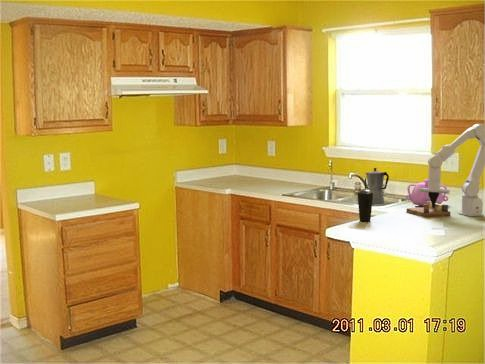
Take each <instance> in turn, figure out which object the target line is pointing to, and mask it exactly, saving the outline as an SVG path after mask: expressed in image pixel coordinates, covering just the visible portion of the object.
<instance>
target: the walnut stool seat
mask: <svg viewBox="0 0 485 364" xmlns="http://www.w3.org/2000/svg"><path fill="white" fill-rule="evenodd" d="M406 213H407V214H412V215H414V216H419V217H421V216H422V218H438V217H451V211H450V210H448V211H441V210H437V209H433V208H429V204H424V206H419V207H407V208H406Z"/></svg>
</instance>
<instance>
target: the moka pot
mask: <svg viewBox="0 0 485 364" xmlns="http://www.w3.org/2000/svg"><path fill="white" fill-rule="evenodd" d="M365 175H366V183H367V186H368V190H371V191H372V192H374V194H373V200H372V206H375V205H376V206H377V205H384V204H385V197H384V191H383V190H386V189H387V187H388V186H387V185H388V182H389V179H390V176H389V174H388V172H387V171H380V170H377V167H373V171H368V172H366V173H365ZM384 177H386V179H385V178H384ZM384 180H385V183H384Z"/></svg>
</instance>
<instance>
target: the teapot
mask: <svg viewBox="0 0 485 364" xmlns="http://www.w3.org/2000/svg"><path fill="white" fill-rule="evenodd" d="M410 187H413V189H412V192H411V189H410ZM441 187H442V188H443V189H448V188H447V186H446V185H444V184H442V183H440V188H441ZM419 188H428V179H423V182H417V183H410V184H409V185H408V186H407V188H406V189H407V194H406V196H405V199H406V200H407V201H411V202H412V204H413V205H416V206H419V207H424V204H427V201H431V200H430V197H429V195H428V194H429V193H426V192H419ZM429 192H438V191H429ZM445 198H446V199H445ZM448 201H449V197H448V196H447V194H444V193H440V194H439V196H438V198H437V201H436V203H438V204H442V203H443V202H448Z"/></svg>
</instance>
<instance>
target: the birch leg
mask: <svg viewBox="0 0 485 364" xmlns="http://www.w3.org/2000/svg"><path fill="white" fill-rule="evenodd" d="M427 204H429V208H432V203H431V201H427ZM433 209H437V210H441V211H449V205H448V204H442V203H441V204H438V203H436V204H435V208H433Z"/></svg>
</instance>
